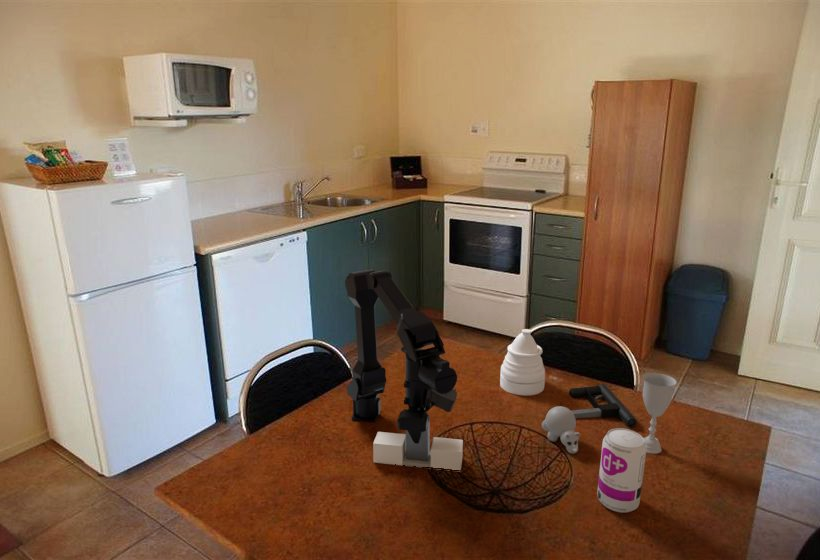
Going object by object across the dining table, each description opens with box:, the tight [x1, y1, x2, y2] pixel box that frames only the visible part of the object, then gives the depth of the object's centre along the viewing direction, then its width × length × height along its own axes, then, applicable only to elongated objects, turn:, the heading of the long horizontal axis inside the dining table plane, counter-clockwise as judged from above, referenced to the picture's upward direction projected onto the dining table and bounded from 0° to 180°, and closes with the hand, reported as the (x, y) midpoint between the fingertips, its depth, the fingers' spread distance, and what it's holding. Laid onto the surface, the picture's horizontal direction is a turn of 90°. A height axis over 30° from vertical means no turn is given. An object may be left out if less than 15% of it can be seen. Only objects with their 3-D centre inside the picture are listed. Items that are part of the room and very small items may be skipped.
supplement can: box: [596, 427, 647, 513], centre depth 116 cm, size 8×8×15 cm
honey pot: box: [499, 328, 546, 396], centre depth 166 cm, size 13×13×18 cm
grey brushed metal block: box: [405, 414, 431, 461], centre depth 130 cm, size 5×3×10 cm, turn 80°
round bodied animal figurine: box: [541, 405, 581, 455], centre depth 138 cm, size 7×12×8 cm, turn 13°
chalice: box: [641, 372, 678, 455], centre depth 135 cm, size 7×7×18 cm
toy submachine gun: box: [568, 383, 639, 428], centre depth 155 cm, size 3×20×16 cm
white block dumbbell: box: [372, 431, 464, 471], centre depth 131 cm, size 20×5×5 cm, turn 80°
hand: (418, 437), depth 130 cm, fingers open, 4 cm apart
